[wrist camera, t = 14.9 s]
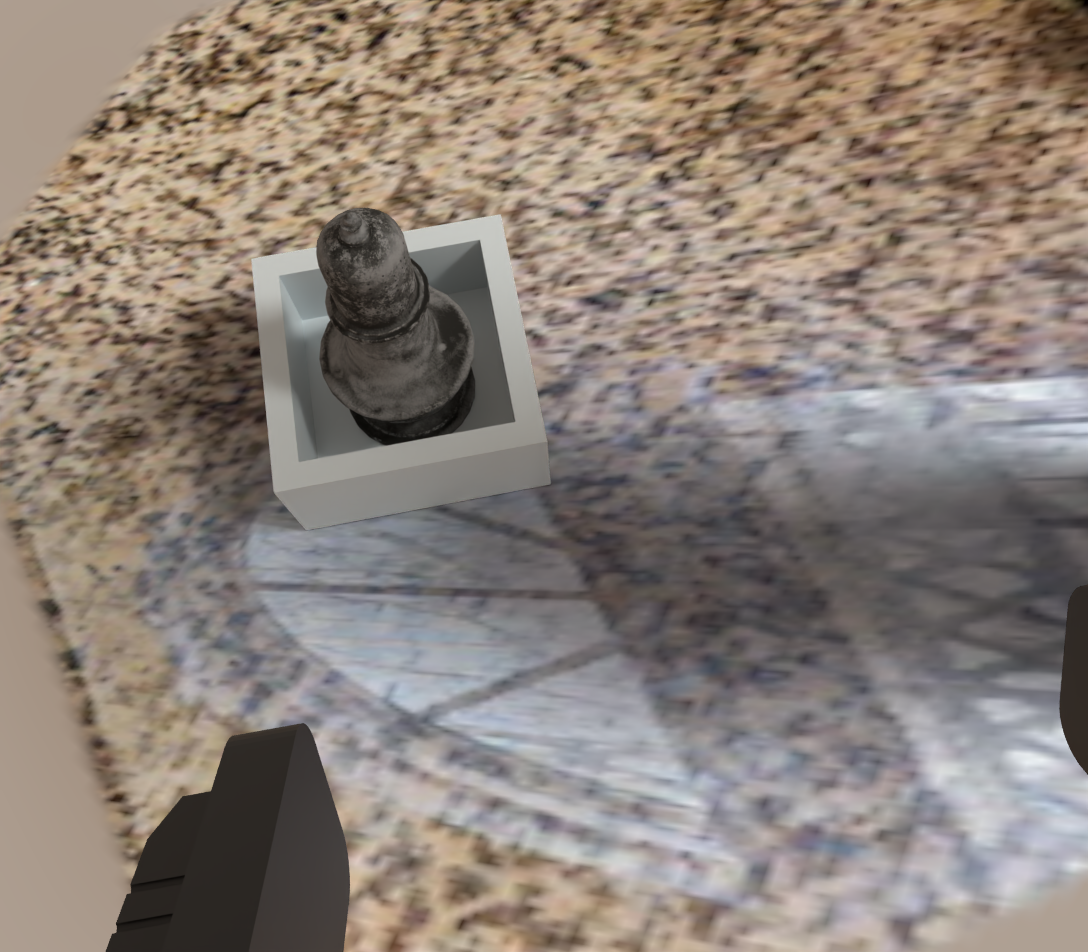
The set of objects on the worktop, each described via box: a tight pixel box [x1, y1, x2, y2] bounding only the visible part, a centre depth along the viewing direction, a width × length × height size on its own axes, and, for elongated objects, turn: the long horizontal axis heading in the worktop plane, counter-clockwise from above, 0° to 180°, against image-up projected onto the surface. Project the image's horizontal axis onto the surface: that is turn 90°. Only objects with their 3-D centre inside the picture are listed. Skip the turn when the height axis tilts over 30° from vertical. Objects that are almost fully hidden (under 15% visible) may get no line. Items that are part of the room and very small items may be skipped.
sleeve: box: [251, 214, 551, 530], centre depth 39 cm, size 10×10×4 cm
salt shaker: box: [316, 208, 475, 446], centre depth 35 cm, size 6×6×12 cm
